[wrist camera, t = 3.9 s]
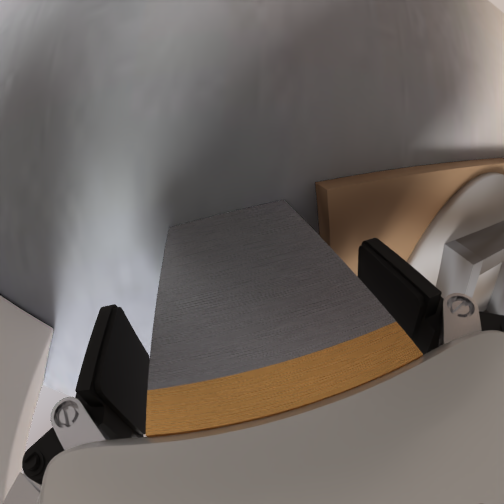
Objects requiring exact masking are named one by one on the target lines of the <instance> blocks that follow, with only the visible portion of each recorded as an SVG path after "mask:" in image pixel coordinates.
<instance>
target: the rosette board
mask: <svg viewBox="0 0 504 504" xmlns="http://www.w3.org/2000/svg"><path fill="white" fill-rule="evenodd" d="M315 186H316V196H317V207H318V220H319V233H320V237H321V238H322V239H323V240H324V241H325V242H326V243H327V244H328V245H329V246H330V247H331V248H332V249H333V251H334V252H335V253H336V254H337V255H338V256H339V257H340V258H341V259H342V260H343V261H344V262H345V263H346V265H347V266H348V267H349V268H350V269H351V270H352V271H353V272H354V273H355V274H356V276H357V277H358V249H359V246H361V244H362V242H363V241H365V240H368V239H372V238H378V239H379V240H380V241H382V242H383V243H384V244H385V245H387V246H388V247H389V248H390V249H392V250H393V251H394V252H395V253H397V254H398V255H399V256H400V257H401V258H403V259H404V260H405V261H406V262H407V263H409V264H410V265H411V266H412V267H413V268H415V269H416V270H417V271H418V272H419V273H421V274H422V275H423V276H424V277H425V278H426V279H427V280H429V281H430V282H431V283H432V284H433V285H434V286H435V287H436V288H438V289H439V290H440V291H441V292H442V294H441V297H442V298H443V299H445V297H446V296H448V295H449V294H452V293H461V294H465V295H467V296H469V297H471V298H472V299H473V300H474V301H475V302H476V303H477V306H478V309H479V311H481V312H487V313H493V314H498V315H504V158H493V159H480V160H468V161H458V162H448V163H439V164H430V165H422V166H414V167H407V168H399V169H392V170H385V171H379V172H372V173H366V174H360V175H354V176H348V177H342V178H336V179H331V180H325V181H320V182H315Z"/></svg>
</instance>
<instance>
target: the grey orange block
mask: <svg viewBox="0 0 504 504" xmlns="http://www.w3.org/2000/svg"><path fill="white" fill-rule="evenodd" d="M422 356H423V353H422V352H421V351H420V350H419V348H418V347H417V346H416V345H415V343H414V342H413V341H412V340H411V338H410V337H409V336H408V335H407V334H406V332H405V331H404V330H403V329H402V328H401V326H400V325H399V324H398V323H397V322H396V320H395V319H394V318H393V317H392V316H391V314H390V313H389V312H388V311H387V310H386V309H385V307H384V306H383V305H382V304H381V303H380V302H379V300H378V299H377V298H376V297H375V296H374V295H373V294H372V292H371V291H370V290H369V289H368V288H367V287H366V286H365V284H364V283H363V282H362V281H361V280H360V279H359V278H358V277H357V276H356V274H355V273H354V272H353V271H352V270H351V269H350V268H349V267H348V266H347V265H346V263H345V262H344V261H343V260H342V259H341V258H340V257H339V256H338V255H337V254H336V253H335V252H334V251H333V249H332V248H331V247H330V246H329V245H328V244H327V243H326V242H325V241H324V240H323V239H322V238H321V237H320V236H319V235H318V234H317V233H316V232H315V231H314V230H313V229H312V228H311V226H310V225H309V224H308V223H307V222H306V221H305V220H304V219H303V218H302V217H301V216H300V215H299V214H298V213H297V212H296V211H295V210H294V209H293V208H292V207H291V206H290V205H289V204H288V203H287V202H286V201H285V200H280V201H275V202H270V203H266V204H262V205H257V206H253V207H248V208H244V209H240V210H236V211H231V212H227V213H223V214H219V215H215V216H211V217H207V218H203V219H199V220H195V221H191V222H187V223H183V224H180V225H176V226H172V227H169V230H168V235H167V240H166V246H165V251H164V257H163V262H162V268H161V274H160V281H159V287H158V294H157V301H156V308H155V316H154V324H153V333H152V342H151V352H150V363H149V375H148V390H147V408H146V436H147V437H156V436H166V435H175V434H183V433H190V432H197V431H203V430H209V429H215V428H220V427H225V426H230V425H235V424H240V423H244V422H249V421H253V420H257V419H261V418H265V417H269V416H273V415H276V414H280V413H283V412H287V411H290V410H294V409H297V408H300V407H303V406H306V405H310V404H313V403H315V402H318V401H321V400H324V399H327V398H330V397H333V396H335V395H338V394H341V393H343V392H346V391H348V390H351V389H353V388H356V387H358V386H361V385H363V384H365V383H368V382H370V381H372V380H375V379H377V378H379V377H381V376H384V375H386V374H388V373H390V372H392V371H394V370H396V369H398V368H401V367H403V366H405V365H407V364H409V363H410V362H412V361H414V360H416V359H418V358H420V357H422Z"/></svg>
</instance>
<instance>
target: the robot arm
mask: <svg viewBox="0 0 504 504" xmlns="http://www.w3.org/2000/svg"><path fill="white" fill-rule="evenodd" d="M358 278H359V279H360V280H361V281H362V282H363V283H364V284H365V286H366V287H367V288H368V289H369V290H370V291H371V292H372V294H373V295H374V296H375V297H376V298H377V299H378V300H379V302H380V303H381V304H382V305H383V306H384V307H385V309H386V310H387V311H388V312H389V313H390V314H391V316H392V317H393V318H394V319H395V320H396V322H397V323H398V324H399V325H400V326H401V328H402V329H403V330H404V331H405V332H406V334H407V335H408V336H409V337H410V338H411V340H412V341H413V342H414V343H415V345H416V346H417V347H418V348H419V350H420V351H421V352H422V353H423V356H422V357H420V358H418V359H416V360H414V361H412V362H410V363H409V364H407V365H405V366H403V367H401V368H398V369H396V370H394V371H392V372H390V373H388V374H386V375H384V376H381V377H379V378H377V379H375V380H372V381H370V382H368V383H365V384H363V385H361V386H358V387H356V388H353V389H351V390H348V391H346V392H343V393H341V394H338V395H335V396H333V397H330V398H327V399H324V400H321V401H318V402H315V403H313V404H310V405H306V406H303V407H300V408H297V409H294V410H290V411H287V412H283V413H280V414H276V415H273V416H269V417H265V418H261V419H257V420H253V421H249V422H244V423H240V424H235V425H230V426H225V427H220V428H215V429H209V430H203V431H197V432H190V433H183V434H175V435H166V436H156V437H143V434H146V408H147V390H148V375H149V363H150V358H149V355H148V353H147V352H146V350H145V348H144V347H143V345H142V343H141V342H140V340H139V338H138V337H137V335H136V333H135V331H134V330H133V328H132V326H131V324H130V322H129V321H128V319H127V317H126V315H125V313H124V311H123V310H122V308H121V307H117V306H116V305H109V306H105V307H102V308H101V309H100V311H99V314H98V317H97V320H96V323H95V325H94V328H93V331H92V335H91V338H90V341H89V344H88V347H87V350H86V354H85V357H84V361H83V364H82V368H81V371H80V375H79V379H78V382H77V386H76V390H75V391H76V392H77V393H76V397H75V398H74V397H67V398H63V399H62V400H60V401H59V402H58V403H57V404H56V405H55V406H54V408H53V410H52V413H51V423H52V426H53V427H52V428H51V429H50V430H49V431H48V432H47V433H46V434H45V435H44V436H43V437H41V438H40V439H39V440H38V441H37V442H36V443H35V444H33V445H32V446H31V447H30V448H29V449H28V450H27V451H26V452H25V454H24V456H23V460H22V468H23V471H24V473H21V472H20V473H19V475H18V476H17V478H16V480H15V481H14V483H13V485H12V487H11V488H10V490H9V492H8V494H7V496H6V497H5V499H4V502H3V504H504V315H498V314H493V313H487V312H481V311H479V309H478V306H477V303H476V302H475V301H474V300H473V299H472V298H471V297H469V296H467V295H465V294H461V293H452V294H449V295H448V296H446V297H445V299H443V298H442V297H441V294H442V292H441V291H440V290H439V289H438V288H436V287H435V286H434V285H433V284H432V283H431V282H430V281H429V280H427V279H426V278H425V277H424V276H423V275H422V274H421V273H419V272H418V271H417V270H416V269H415V268H413V267H412V266H411V265H410V264H409V263H407V262H406V261H405V260H404V259H403V258H401V257H400V256H399V255H398V254H397V253H395V252H394V251H393V250H392V249H390V248H389V247H388V246H387V245H385V244H384V243H383V242H382V241H380V240H379V239H378V238H372V239H368V240H365V241H363V242H362V244H361V246H359V249H358Z"/></svg>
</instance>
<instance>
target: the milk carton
mask: <svg viewBox="0 0 504 504" xmlns="http://www.w3.org/2000/svg"><path fill="white" fill-rule="evenodd" d="M52 336H53V328H52V327H50V326H48V325H47V324H45V323H43V322H41V321H40V320H38V319H36V318H35V317H33V316H31V315H30V314H28V313H27V312H25V311H23V310H22V309H20V308H19V307H17V306H15V305H14V304H12V303H11V302H9V301H8V300H6V299H5V298H3V297H2V296H1V295H0V504H3V502H4V499H5V497H6V496H7V494H8V492H9V490H10V488H11V487H12V485H13V483H14V481H15V480H16V478H17V476H18V475H19V473H20V472H21V470H22V460H23V456H24V453H25V448H26V444H27V439H28V435H29V430H30V427H31V422H32V419H33V415H34V411H35V408H36V405H37V401H38V398H39V395H40V391H41V388H42V385H43V381H44V375H45V370H46V364H47V359H48V354H49V349H50V345H51V340H52Z"/></svg>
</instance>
